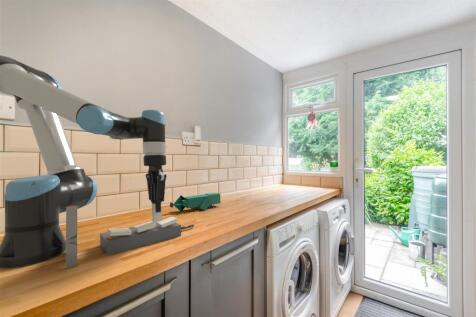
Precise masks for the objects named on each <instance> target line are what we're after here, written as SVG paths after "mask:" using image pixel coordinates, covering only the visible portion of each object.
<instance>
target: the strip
mask: <svg viewBox="0 0 476 317" xmlns="http://www.w3.org/2000/svg"><path fill="white" fill-rule="evenodd" d="M155 223H156V227H154V228H151V229H148V230H145V231H142V232H139V233H138V232H137V231H135V230H134V226H133V227H128V228H129V229H130V230H131V231H132V234H131V235H118V236H110V235H109V234H108V233H107V232H108V231H106V232H102V233H99V246H100V248H101V250H103V252H104V253H105V255H106V256H110V255H114V254H118V253H121V252H125V251H129V250H132V249H133V250H134V249H135V248H139V247H140V248H141V247H145V246H149V245H151V244H155V243H161V242H164V241H167V240H170V239H175V238H178V237H182V230H186V229H189V228H190V229H191V228H194V227H195V224H189V225H185V226H182V224H180V223H177V222H175V223H173V224H171V225H168V226H166V227H164V228H161V227H159V226H158V225H157V222H155Z"/></svg>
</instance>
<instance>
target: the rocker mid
mask: <svg viewBox="0 0 476 317" xmlns="http://www.w3.org/2000/svg"><path fill="white" fill-rule="evenodd" d="M133 227H134V230H135V231H137V232H138V233H139V232H142V231H145V230H148V229H151V228H154V227H156V222H153V221H152V220H150V221H147V222H144V223H140V224H138V225H133Z"/></svg>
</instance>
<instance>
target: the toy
mask: <svg viewBox="0 0 476 317" xmlns="http://www.w3.org/2000/svg"><path fill="white" fill-rule="evenodd" d="M219 204H221V193H220V192H208V193H204V194H195V195H190V196H189V195H187V196H183V195H182V194H180V196H179V197H178V198H177V199H176V200H175V201H174V203H173V201H172V202H169V207H170V208H171V209H173V208H174V207H175V208H176V209H177V210H178V211H179V212H180V213H181V212H183V211H184V210H185V209H192V208H195V209H199V210H201V211H204V212H205V211H207V209H208V208H210V207H213V205H219Z"/></svg>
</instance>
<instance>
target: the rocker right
mask: <svg viewBox="0 0 476 317" xmlns="http://www.w3.org/2000/svg"><path fill="white" fill-rule="evenodd" d="M177 222H178V218H177V217H175V216H170V217H167V218H165V219H162V221H158V222H157V225H158V226H159V227H161V228H164V227H166V226H168V225H171V224H173V223H177Z"/></svg>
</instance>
